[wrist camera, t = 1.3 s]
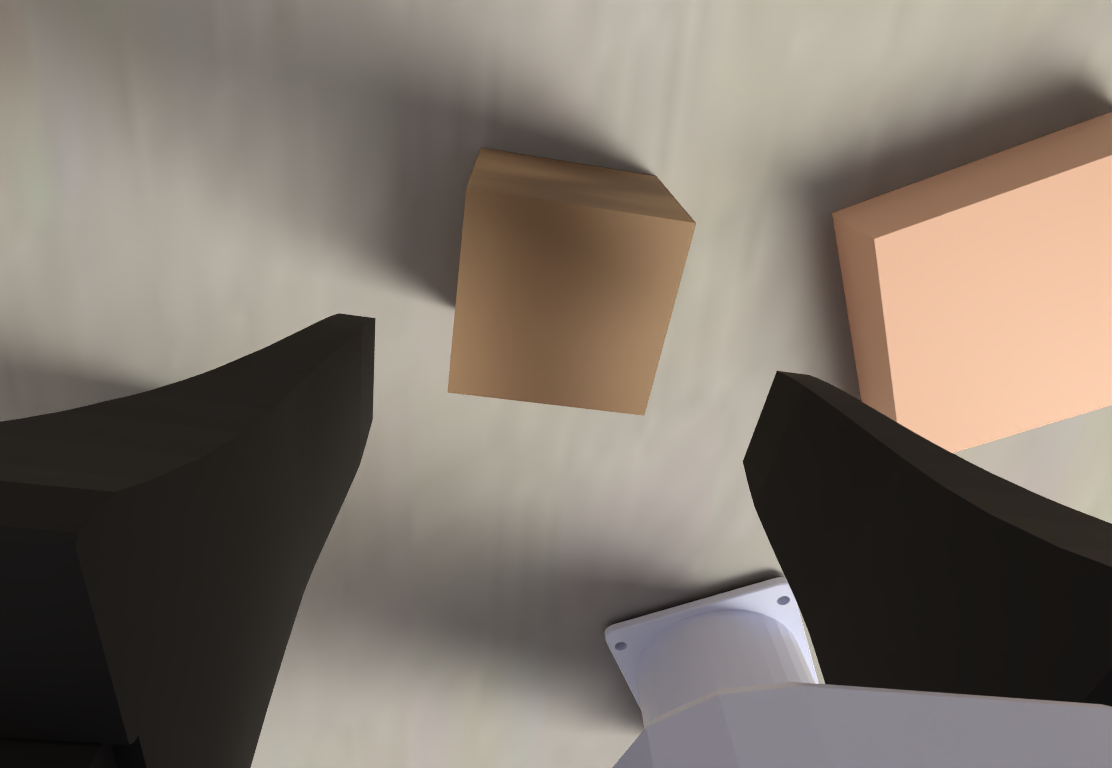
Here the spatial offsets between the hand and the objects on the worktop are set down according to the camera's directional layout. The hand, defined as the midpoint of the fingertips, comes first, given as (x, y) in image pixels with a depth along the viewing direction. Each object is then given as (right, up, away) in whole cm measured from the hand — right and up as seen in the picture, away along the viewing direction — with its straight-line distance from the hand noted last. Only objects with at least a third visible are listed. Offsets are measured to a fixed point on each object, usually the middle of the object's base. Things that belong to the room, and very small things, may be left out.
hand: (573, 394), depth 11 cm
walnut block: (0, +4, +8) cm, 9 cm away
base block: (+13, +4, +9) cm, 16 cm away
